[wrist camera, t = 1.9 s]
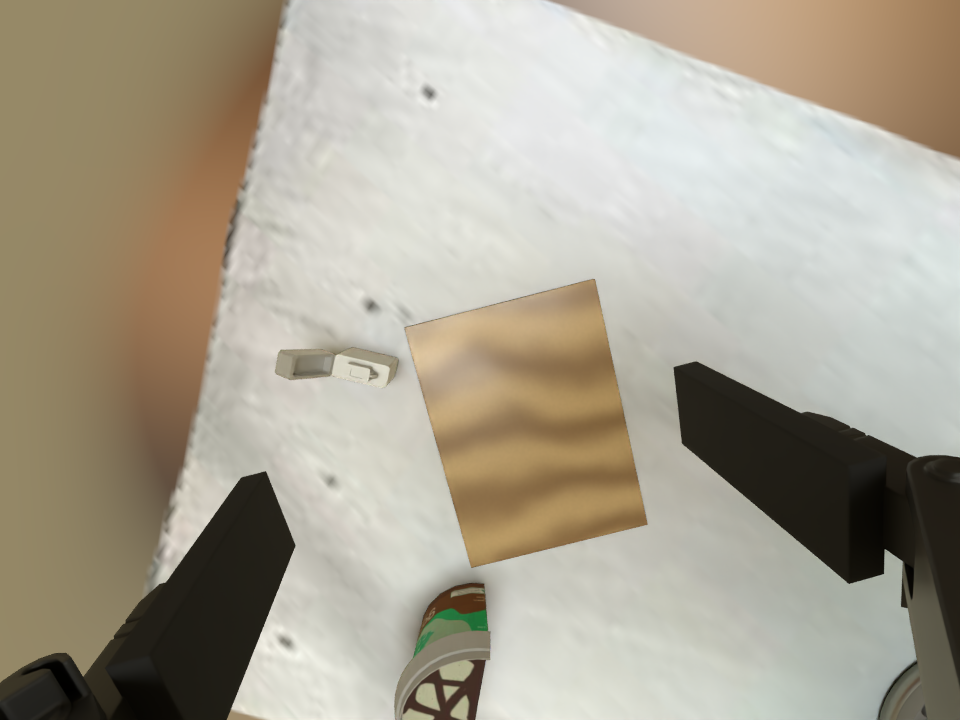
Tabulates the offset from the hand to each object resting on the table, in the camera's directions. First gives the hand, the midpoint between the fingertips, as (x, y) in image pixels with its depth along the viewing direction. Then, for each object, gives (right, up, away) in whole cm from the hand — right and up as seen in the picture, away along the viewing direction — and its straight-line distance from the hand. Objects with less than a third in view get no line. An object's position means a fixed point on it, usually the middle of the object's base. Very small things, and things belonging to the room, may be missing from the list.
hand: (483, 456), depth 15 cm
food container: (-4, -21, +29) cm, 36 cm away
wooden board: (+4, -3, +26) cm, 27 cm away
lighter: (-11, +3, +25) cm, 27 cm away
